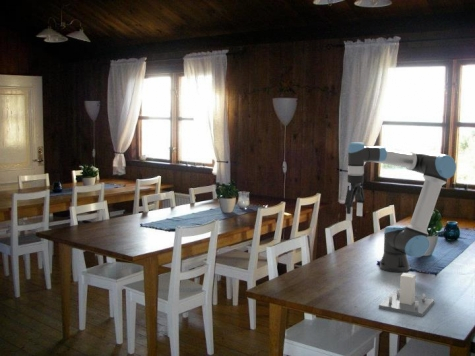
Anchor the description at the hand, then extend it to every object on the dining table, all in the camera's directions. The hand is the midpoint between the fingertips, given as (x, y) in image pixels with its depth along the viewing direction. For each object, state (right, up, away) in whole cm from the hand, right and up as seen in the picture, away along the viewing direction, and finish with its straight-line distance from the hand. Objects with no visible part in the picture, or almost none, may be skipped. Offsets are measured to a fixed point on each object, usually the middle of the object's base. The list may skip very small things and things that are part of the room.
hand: (354, 218), depth 262 cm
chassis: (+16, -35, -29) cm, 49 cm away
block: (+16, -34, -30) cm, 48 cm away
